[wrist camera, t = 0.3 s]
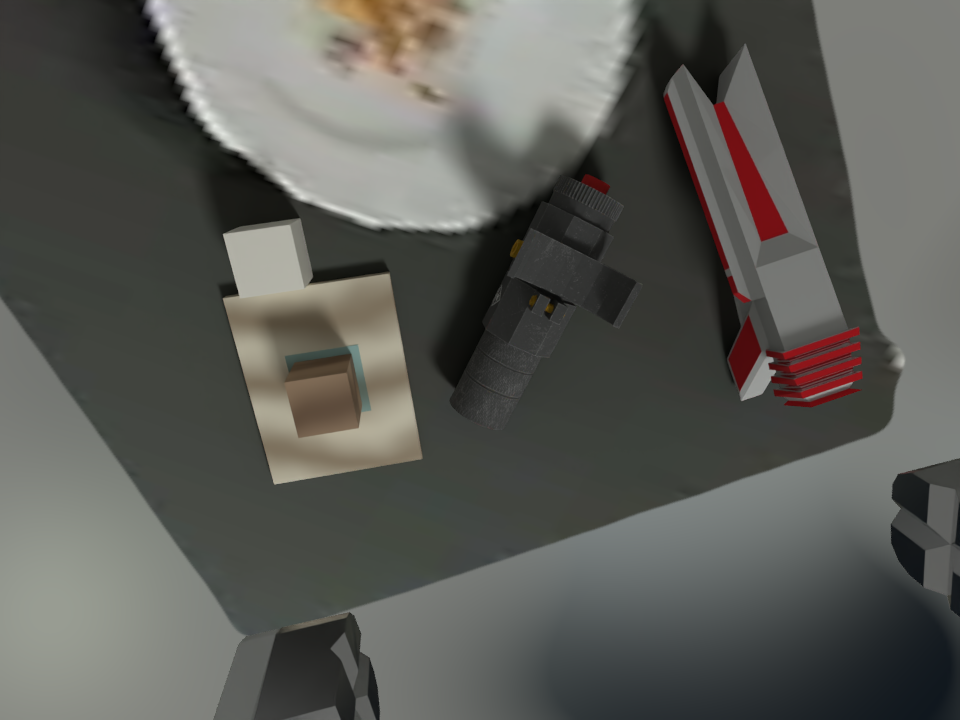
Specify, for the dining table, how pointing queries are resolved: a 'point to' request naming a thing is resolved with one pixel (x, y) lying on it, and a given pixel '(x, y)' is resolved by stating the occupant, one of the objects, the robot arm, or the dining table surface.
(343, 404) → the walnut block
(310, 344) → the beige rectangular board
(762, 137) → the toy gun
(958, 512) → the robot arm
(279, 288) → the cream block
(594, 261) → the laser sight
